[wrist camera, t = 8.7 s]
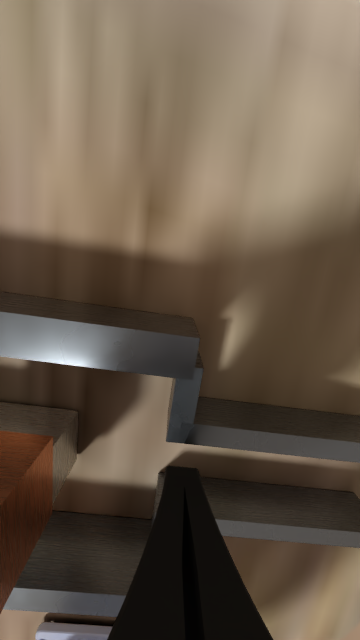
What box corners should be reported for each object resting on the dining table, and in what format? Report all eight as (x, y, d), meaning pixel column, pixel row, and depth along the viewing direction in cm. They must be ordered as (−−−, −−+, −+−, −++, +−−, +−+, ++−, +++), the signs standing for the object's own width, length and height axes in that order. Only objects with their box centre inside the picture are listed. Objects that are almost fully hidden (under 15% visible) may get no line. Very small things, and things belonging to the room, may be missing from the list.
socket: (328, 554, 13) (371, 634, 10) (-83, 518, 12) (-167, 597, 9) (414, 348, 10) (511, 380, 7) (-127, 274, 9) (-275, 274, 6)
